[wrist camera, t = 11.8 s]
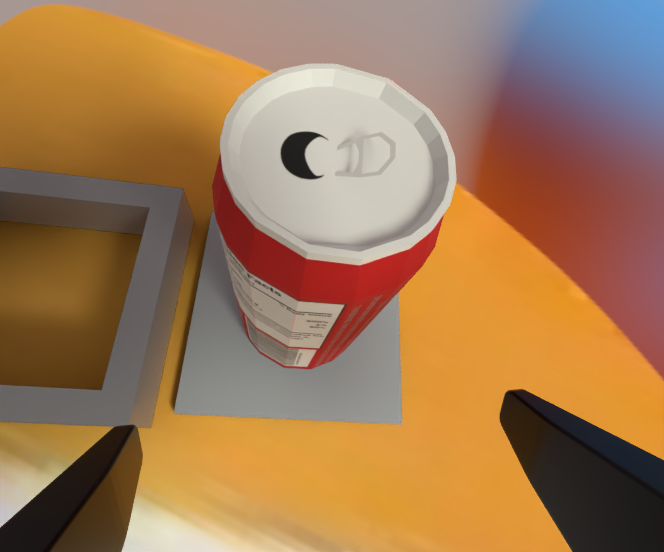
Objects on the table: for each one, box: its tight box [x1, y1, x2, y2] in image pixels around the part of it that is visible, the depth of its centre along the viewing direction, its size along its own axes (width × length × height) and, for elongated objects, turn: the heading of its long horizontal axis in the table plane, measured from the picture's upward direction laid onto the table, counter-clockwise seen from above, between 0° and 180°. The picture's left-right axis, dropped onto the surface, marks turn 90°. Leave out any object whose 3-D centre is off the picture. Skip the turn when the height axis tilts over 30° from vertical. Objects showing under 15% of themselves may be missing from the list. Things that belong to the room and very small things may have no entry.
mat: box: [174, 211, 402, 424], centre depth 19 cm, size 10×10×1 cm
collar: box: [0, 167, 194, 428], centre depth 16 cm, size 10×10×3 cm
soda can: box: [212, 64, 456, 369], centre depth 13 cm, size 6×6×12 cm
